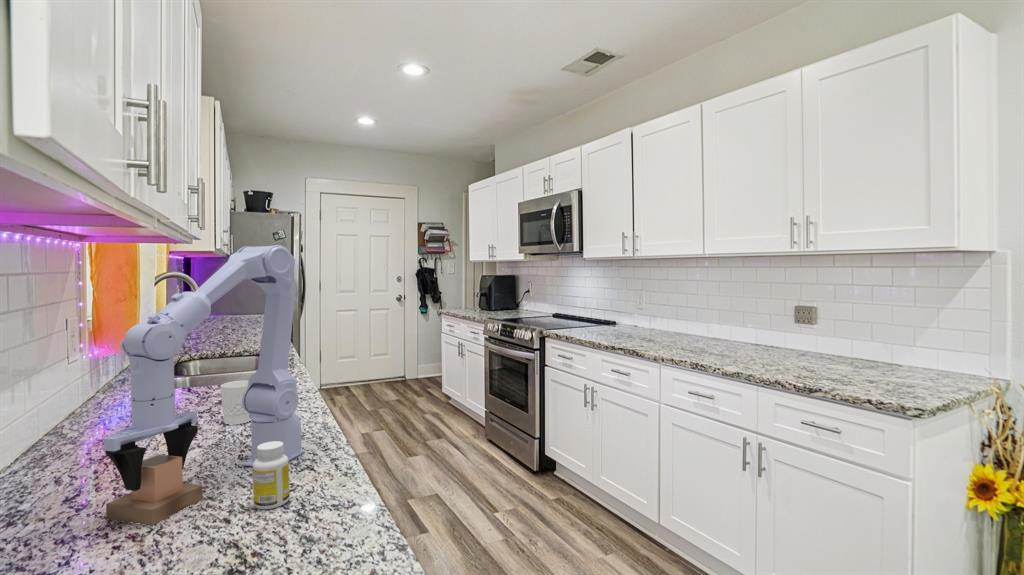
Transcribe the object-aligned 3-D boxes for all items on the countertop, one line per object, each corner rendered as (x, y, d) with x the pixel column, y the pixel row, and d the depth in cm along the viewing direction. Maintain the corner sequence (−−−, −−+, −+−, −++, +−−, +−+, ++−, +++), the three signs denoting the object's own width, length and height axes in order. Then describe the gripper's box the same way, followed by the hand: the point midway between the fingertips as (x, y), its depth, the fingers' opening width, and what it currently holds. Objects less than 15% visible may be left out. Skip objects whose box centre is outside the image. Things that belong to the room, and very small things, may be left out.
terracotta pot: (160, 486, 83) (159, 454, 83) (182, 489, 82) (182, 456, 82) (131, 498, 78) (131, 464, 78) (155, 502, 77) (154, 467, 77)
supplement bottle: (280, 492, 86) (279, 437, 86) (295, 501, 82) (294, 444, 82) (247, 503, 82) (246, 445, 81) (262, 513, 78) (261, 453, 78)
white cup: (242, 427, 123) (241, 387, 122) (214, 425, 124) (213, 386, 123) (262, 417, 130) (262, 380, 130) (236, 416, 132) (235, 379, 131)
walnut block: (160, 497, 85) (159, 480, 85) (202, 502, 83) (202, 485, 83) (106, 522, 77) (106, 503, 77) (152, 529, 75) (152, 509, 75)
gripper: (129, 410, 71) (131, 502, 72) (210, 387, 86) (212, 464, 86) (91, 407, 73) (94, 497, 73) (177, 385, 87) (179, 461, 88)
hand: (155, 479), depth 80 cm, fingers open, 7 cm apart
